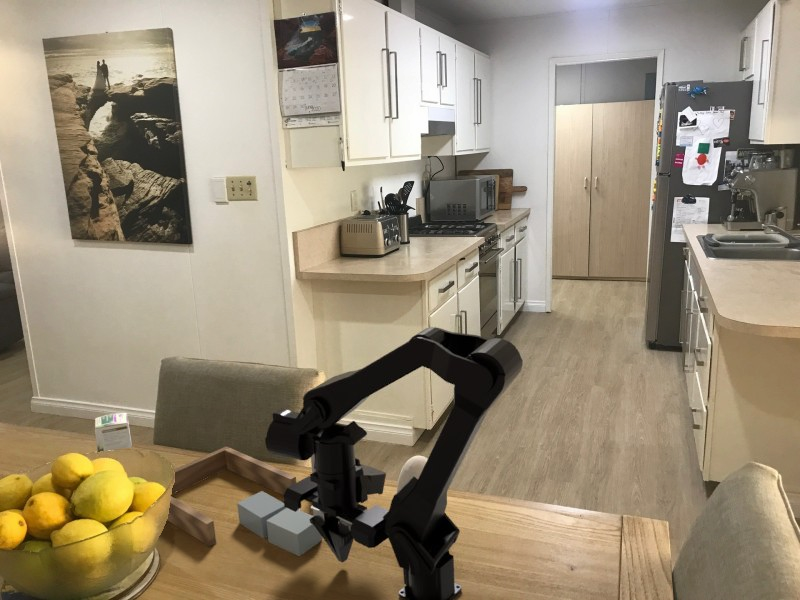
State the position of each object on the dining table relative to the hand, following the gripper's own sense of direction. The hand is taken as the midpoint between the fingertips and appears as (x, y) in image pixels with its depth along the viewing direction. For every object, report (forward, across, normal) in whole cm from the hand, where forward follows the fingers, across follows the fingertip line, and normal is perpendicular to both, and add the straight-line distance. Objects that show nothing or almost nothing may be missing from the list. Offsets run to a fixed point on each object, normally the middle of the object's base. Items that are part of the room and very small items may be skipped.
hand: (343, 560), depth 97 cm
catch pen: (+1, +31, 0) cm, 31 cm away
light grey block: (+1, +11, 0) cm, 11 cm away
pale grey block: (+1, +19, 0) cm, 19 cm away
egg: (+1, -2, -16) cm, 16 cm away
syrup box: (+1, +50, +9) cm, 51 cm away
